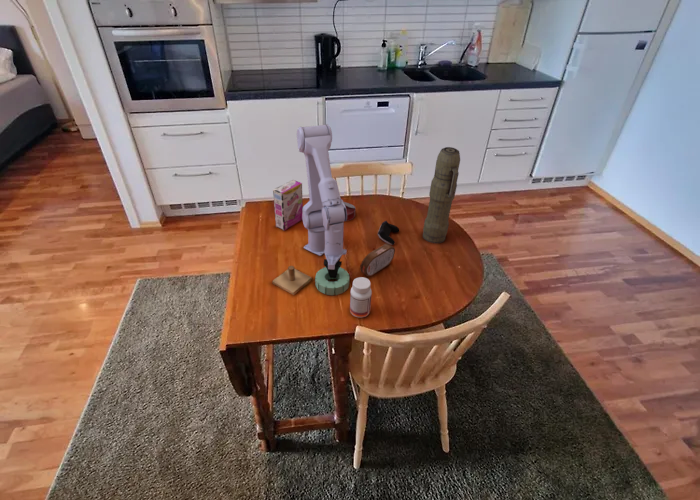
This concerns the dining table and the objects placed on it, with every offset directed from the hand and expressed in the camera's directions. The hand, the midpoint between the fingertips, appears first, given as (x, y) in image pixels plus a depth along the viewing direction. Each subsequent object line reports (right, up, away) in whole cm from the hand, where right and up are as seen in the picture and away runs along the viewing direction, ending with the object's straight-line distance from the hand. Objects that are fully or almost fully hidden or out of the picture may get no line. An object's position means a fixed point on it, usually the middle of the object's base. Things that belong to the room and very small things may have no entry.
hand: (333, 272), depth 130 cm
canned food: (+3, +22, +32) cm, 39 cm away
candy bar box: (-18, +18, +26) cm, 37 cm away
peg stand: (-13, -3, -2) cm, 14 cm away
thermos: (+38, +12, +21) cm, 45 cm away
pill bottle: (+8, -11, -12) cm, 18 cm away
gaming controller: (+20, +12, +20) cm, 31 cm away
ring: (0, -3, -2) cm, 4 cm away
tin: (+15, +1, +4) cm, 15 cm away
